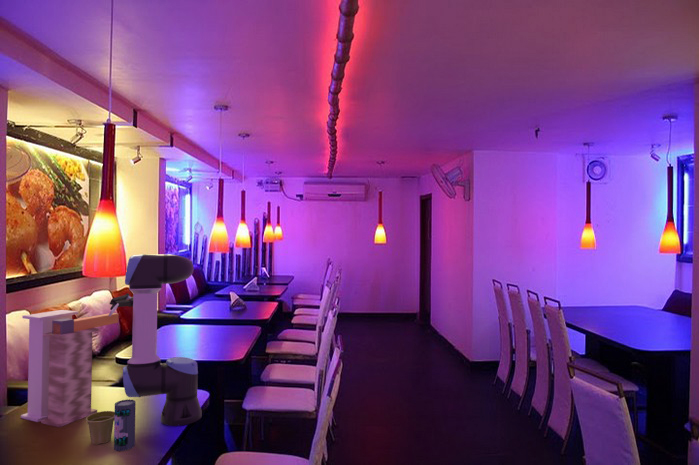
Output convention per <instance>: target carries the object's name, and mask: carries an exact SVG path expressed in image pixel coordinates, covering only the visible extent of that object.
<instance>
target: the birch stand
mask: <svg viewBox="0 0 699 465" xmlns="http://www.w3.org/2000/svg"><path fill="white" fill-rule="evenodd" d="M95 332H100V328H99V327H95V328H90V329H85V330H80V331H75V332H72V333H67V334H62V335H61V334H53V333H52V332H49V333H44V334H43V337H50V340H49V397H48V418H46V419H43V420H41V421H40V422H41V424H43V425H44V424H45V425H47V426H51V427H56V428H61V427H64V426H66V425H69V424H71V423H74V422H76V421H79V420H81V419H84V418H87V417H88V416H89V415H91V414H94V413H97V412H98V409H97V408H92V385H93V384H92V380H93V378H92V377H93V376H92V375H93V333H95Z"/></svg>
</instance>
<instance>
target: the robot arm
mask: <svg viewBox="0 0 699 465" xmlns="http://www.w3.org/2000/svg"><path fill="white" fill-rule="evenodd" d="M194 269H195V268H194V263H193V260H191V259H189V258H187V257H185V256H181V255H178V254H150V253H149V254H148V253H147V254H144V253H142V254H133V255H131V256H130V257H129V259H128V262H127V264H126V270H127V272H126V271H125V277H124V279H125V280H124V284H125V285H126V286H128V290H129V291H130V292H131V293H132V294H133V296H131V295H130V294H129V292H128V293H125V294H124V295H119V296H117V297H114V298H111V300H110V301H109V305H111V307H110V308H109V309H110V311H109V313H110V314H109V316H111V315H112V314H113V313H115V312H116V310H117V309H118V308H122V307H129V308H130V307H131V308H132V340H131V342H132V343H131V345H132V347H131V348H132V349H131V356H130V357H131V358H129V360H127V365H125V366H123V367H122V383H123V388H124V393H125V395H126V396H127V397H128V398H141V397H142V398H143V397H150V396H158V395H160V396H161V395H165V402H164V405H163V408H162V411H161V414H160V422H161V424H163V425H165V426H171V427H177V426H186V425H190V424H193V423H196V422H197V421H199V420H201V419H202V417H203V415H202V413H203V412H202V408H201V404H200V401H199V398H198V374H199V371H198V368H199V367H198V362H197V361H196V360H195V359H193V358H190V357H185V356H183V357H182V356H174V357H170V358H169V357H168V358H167V359H166V360H165V361H166V362H163V363H162V362H161V361H162V360H161V357H160V356H158V355H157V345H158V344H157V343H158V342H157V341H158V340H157V338H158V337H157V335H158V293H159V292H160V291H161V290H162V289H163V288H162V286H163V285H164V284H165V285H166V284H168V285H171V284H176V283H180V282H183V281H186V280H187V279H189V278H190V277H191V276H192V275H193V274H194Z"/></svg>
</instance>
